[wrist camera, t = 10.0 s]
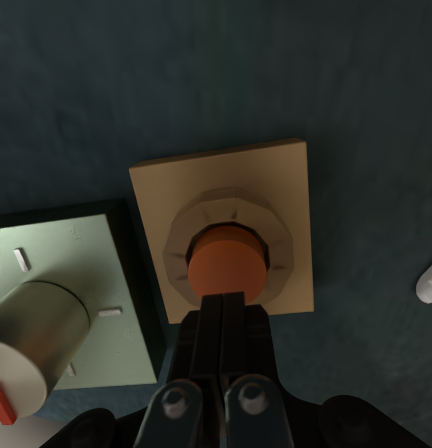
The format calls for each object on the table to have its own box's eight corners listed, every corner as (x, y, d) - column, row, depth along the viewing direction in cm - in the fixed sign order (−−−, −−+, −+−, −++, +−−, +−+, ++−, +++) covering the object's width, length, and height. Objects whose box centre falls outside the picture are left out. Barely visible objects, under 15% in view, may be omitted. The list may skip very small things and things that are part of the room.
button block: (175, 303, 21) (162, 345, 17) (140, 161, 17) (114, 176, 13) (306, 290, 20) (322, 332, 16) (297, 136, 16) (316, 145, 12)
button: (199, 291, 16) (195, 312, 14) (186, 230, 15) (180, 245, 13) (266, 284, 16) (270, 305, 14) (259, 220, 14) (263, 235, 13)
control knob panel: (33, 359, 24) (4, 395, 21) (-36, 220, 19) (-85, 240, 16) (167, 348, 22) (156, 385, 19) (124, 197, 18) (103, 214, 15)
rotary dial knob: (-9, 284, 17) (-93, 346, 13) (74, 277, 17) (17, 338, 12) (23, 353, 19) (-40, 427, 15) (100, 348, 19) (57, 424, 14)
